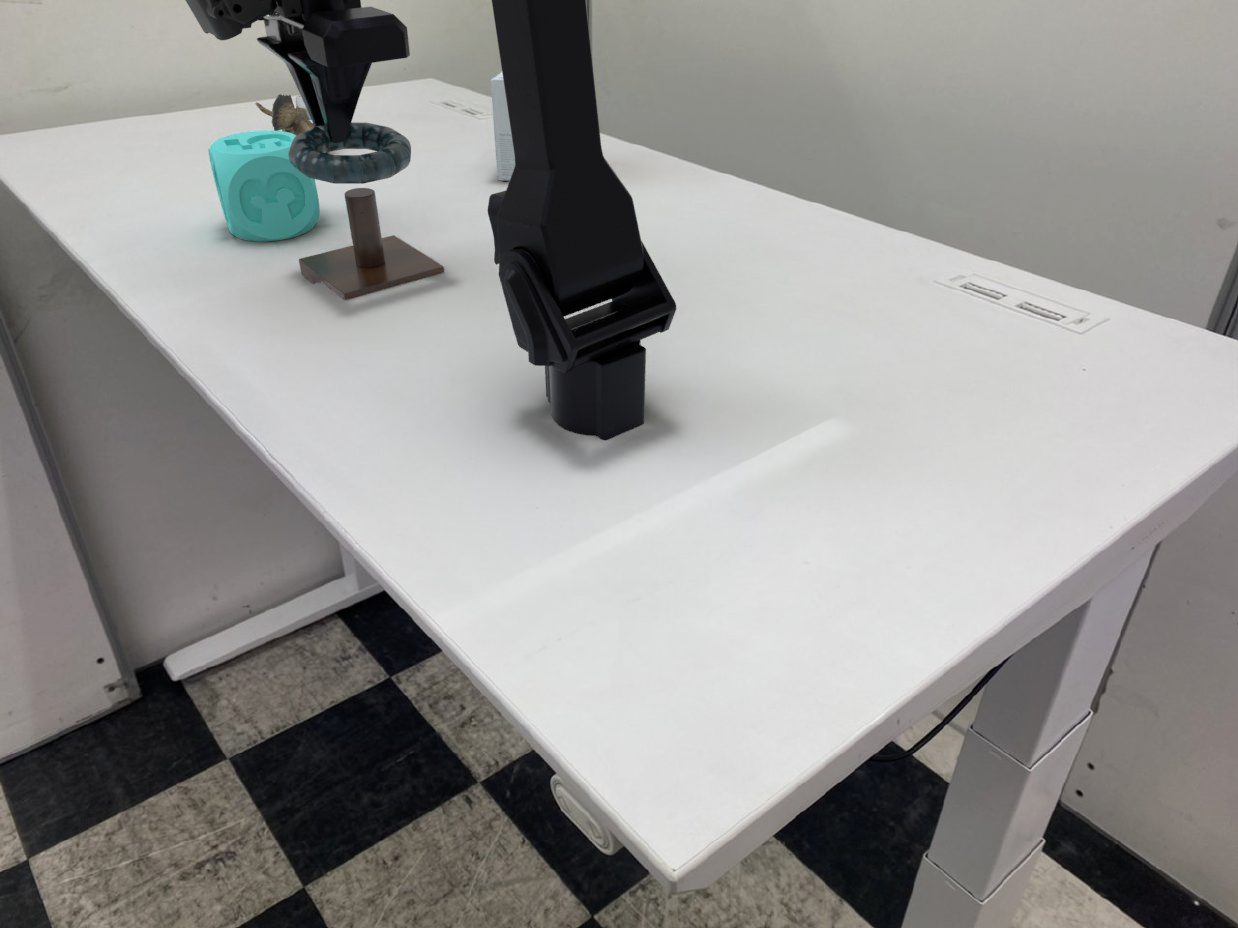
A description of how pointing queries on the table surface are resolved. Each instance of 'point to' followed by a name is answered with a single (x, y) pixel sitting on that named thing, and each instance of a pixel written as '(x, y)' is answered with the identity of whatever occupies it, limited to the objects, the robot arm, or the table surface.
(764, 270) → the table surface
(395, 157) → the ring
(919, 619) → the table surface
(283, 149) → the decorative dice
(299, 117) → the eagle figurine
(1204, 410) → the table surface
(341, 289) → the stand
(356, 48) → the robot arm
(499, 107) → the small box
